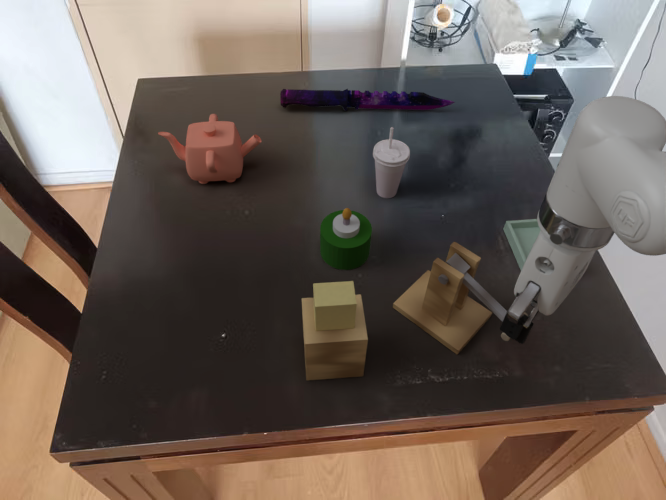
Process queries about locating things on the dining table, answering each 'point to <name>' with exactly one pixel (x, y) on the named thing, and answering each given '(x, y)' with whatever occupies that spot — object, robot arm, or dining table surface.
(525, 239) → the butter dish
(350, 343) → the stand
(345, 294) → the butter
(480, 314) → the slicer
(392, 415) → the dining table surface
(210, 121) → the teapot
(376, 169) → the smoothie
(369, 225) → the candle
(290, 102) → the knife
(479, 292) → the lever
